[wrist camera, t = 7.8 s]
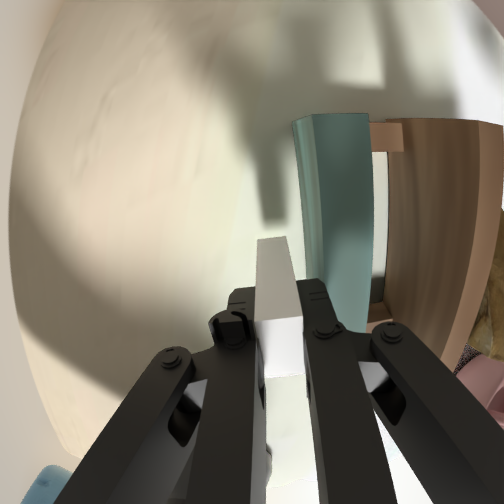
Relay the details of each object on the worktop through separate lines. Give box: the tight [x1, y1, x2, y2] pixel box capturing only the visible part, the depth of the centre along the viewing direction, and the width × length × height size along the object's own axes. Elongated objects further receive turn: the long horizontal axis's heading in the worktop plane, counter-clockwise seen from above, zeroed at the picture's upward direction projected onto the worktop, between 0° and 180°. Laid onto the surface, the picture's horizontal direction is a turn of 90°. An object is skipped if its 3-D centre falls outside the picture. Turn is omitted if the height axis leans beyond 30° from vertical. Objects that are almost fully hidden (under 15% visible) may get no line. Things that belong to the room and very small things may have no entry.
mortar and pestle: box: [456, 354, 504, 429], centre depth 17 cm, size 12×12×12 cm
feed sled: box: [292, 113, 504, 373], centre depth 12 cm, size 7×14×8 cm, turn 8°
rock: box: [467, 208, 504, 362], centre depth 12 cm, size 11×9×10 cm
